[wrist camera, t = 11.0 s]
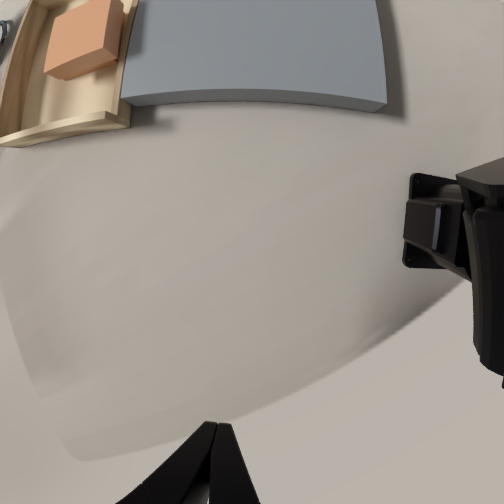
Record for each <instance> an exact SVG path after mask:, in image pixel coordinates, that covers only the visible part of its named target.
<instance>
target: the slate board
mask: <svg viewBox="0 0 504 504" xmlns="http://www.w3.org/2000/svg"><path fill="white" fill-rule="evenodd" d="M120 98H121V99H123V100H125V101H127V102H128V103H130V104H132V105H134V106H136V107H141V106H150V105H159V104H170V103H184V102H203V101H268V102H287V103H301V104H312V105H322V106H331V107H339V108H346V109H353V110H359V111H366V112H371V113H374V112H375V111H377V110H378V109H380V108H381V107H383V106H384V105H386V104H387V90H386V76H385V65H384V55H383V46H382V39H381V31H380V25H379V18H378V13H377V7H376V2H375V0H139V4H138V8H137V11H136V15H135V20H134V24H133V28H132V33H131V37H130V42H129V47H128V52H127V58H126V63H125V69H124V76H123V82H122V90H121V97H120Z"/></svg>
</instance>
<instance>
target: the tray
mask: <svg viewBox="0 0 504 504" xmlns="http://www.w3.org/2000/svg"><path fill="white" fill-rule="evenodd" d="M89 1H91V0H30V1H29V4H28V6H27V8H26V11H25V13H24V16H23V18H22V21H21V23H20V26H19V29H18V31H17V34H16V37H15V40H14V43H13V46H12V49H11V53H10V56H9V59H8V63H7V67H6V71H5V75H4V79H3V83H2V87H1V92H0V147H12V148H22V147H26V146H30V145H34V144H38V143H42V142H47V141H51V140H56V139H61V138H66V137H71V136H76V135H82V134H88V133H94V132H101V131H108V130H115V129H123V128H130V118H131V108H132V104H130V103H128V102H127V101H125V100H123V99H121V98H120V97H121V90H122V82H123V76H124V69H125V63H126V58H127V52H128V47H129V42H130V37H131V33H132V28H133V24H134V20H135V15H136V11H137V8H138V4H139V0H120V1H121V2H122V3H123V4H124V9H123V11H124V12H125V13H126V15H125V20H124V26H123V32H122V38H121V45H120V53H119V60H118V64H116V65H112V66H109V67H105V68H102V69H99V70H96V71H93V72H90V73H87V74H84V75H81V76H78V77H75V78H73V79H70V80H67V81H65V80H63V79H61V80H59V79H57V78H54V77H52V76H49V75H47V74H44V67H45V61H46V55H47V50H48V45H49V41H50V36H51V32H52V28H53V24H54V20H55V18H56V17H58V16H60V15H62V14H64V13H66V12H68V11H70V10H72V9H74V8H76V7H78V6H80V5H82V4H85V3H87V2H89Z"/></svg>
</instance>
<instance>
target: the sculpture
mask: <svg viewBox="0 0 504 504" xmlns="http://www.w3.org/2000/svg"><path fill="white" fill-rule="evenodd" d="M0 25H2V30H3V33H2V38H1V42H0V49H1V48H2V46H3V44H4V40H5V37H4V36H5V35H6V37H7V25H6V22H5V21H3V20H1V21H0Z"/></svg>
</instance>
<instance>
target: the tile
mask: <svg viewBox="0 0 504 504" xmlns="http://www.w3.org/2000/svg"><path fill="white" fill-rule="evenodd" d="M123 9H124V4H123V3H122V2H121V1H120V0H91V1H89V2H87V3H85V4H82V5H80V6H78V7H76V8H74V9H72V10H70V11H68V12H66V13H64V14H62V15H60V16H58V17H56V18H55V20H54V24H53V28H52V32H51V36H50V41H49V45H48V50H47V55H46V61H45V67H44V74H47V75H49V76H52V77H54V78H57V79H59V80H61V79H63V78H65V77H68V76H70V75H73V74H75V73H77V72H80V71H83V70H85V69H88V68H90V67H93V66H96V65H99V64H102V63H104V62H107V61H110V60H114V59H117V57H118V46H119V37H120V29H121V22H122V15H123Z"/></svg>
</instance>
